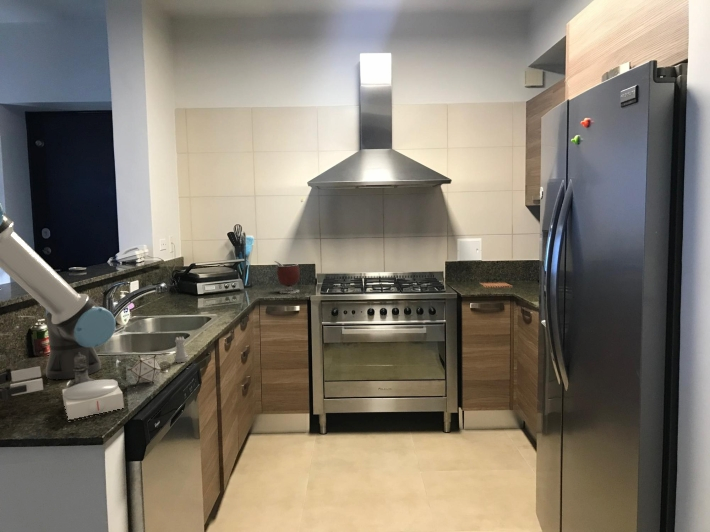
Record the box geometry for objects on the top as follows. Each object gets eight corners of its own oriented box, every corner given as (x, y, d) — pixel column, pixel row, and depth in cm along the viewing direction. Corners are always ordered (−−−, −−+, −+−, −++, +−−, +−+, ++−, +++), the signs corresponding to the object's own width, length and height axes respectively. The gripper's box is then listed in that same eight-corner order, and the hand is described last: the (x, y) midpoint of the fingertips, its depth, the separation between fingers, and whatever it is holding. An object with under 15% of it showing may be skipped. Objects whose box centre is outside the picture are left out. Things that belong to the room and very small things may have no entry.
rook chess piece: (176, 359, 163) (174, 336, 163) (190, 358, 164) (188, 335, 163) (172, 363, 159) (170, 339, 158) (186, 362, 159) (184, 338, 159)
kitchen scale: (63, 404, 126) (61, 385, 126) (114, 393, 133) (113, 375, 132) (68, 422, 114) (66, 401, 114) (124, 408, 121) (122, 389, 121)
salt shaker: (84, 399, 130) (80, 355, 128) (66, 398, 131) (61, 354, 130) (100, 391, 135) (96, 348, 134) (82, 390, 137) (77, 348, 135)
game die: (148, 397, 139) (135, 377, 132) (130, 383, 143) (117, 363, 136) (173, 375, 144) (162, 355, 137) (155, 362, 148) (143, 341, 141)
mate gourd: (303, 290, 312) (301, 259, 310) (296, 293, 298) (294, 261, 296) (280, 290, 315) (278, 259, 313) (272, 294, 301) (270, 261, 299)
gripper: (-56, 398, 126) (41, 379, 138) (-71, 430, 105) (45, 405, 117) (-60, 369, 125) (38, 353, 137) (-75, 396, 105) (42, 374, 117)
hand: (41, 377), depth 127 cm, fingers open, 13 cm apart
